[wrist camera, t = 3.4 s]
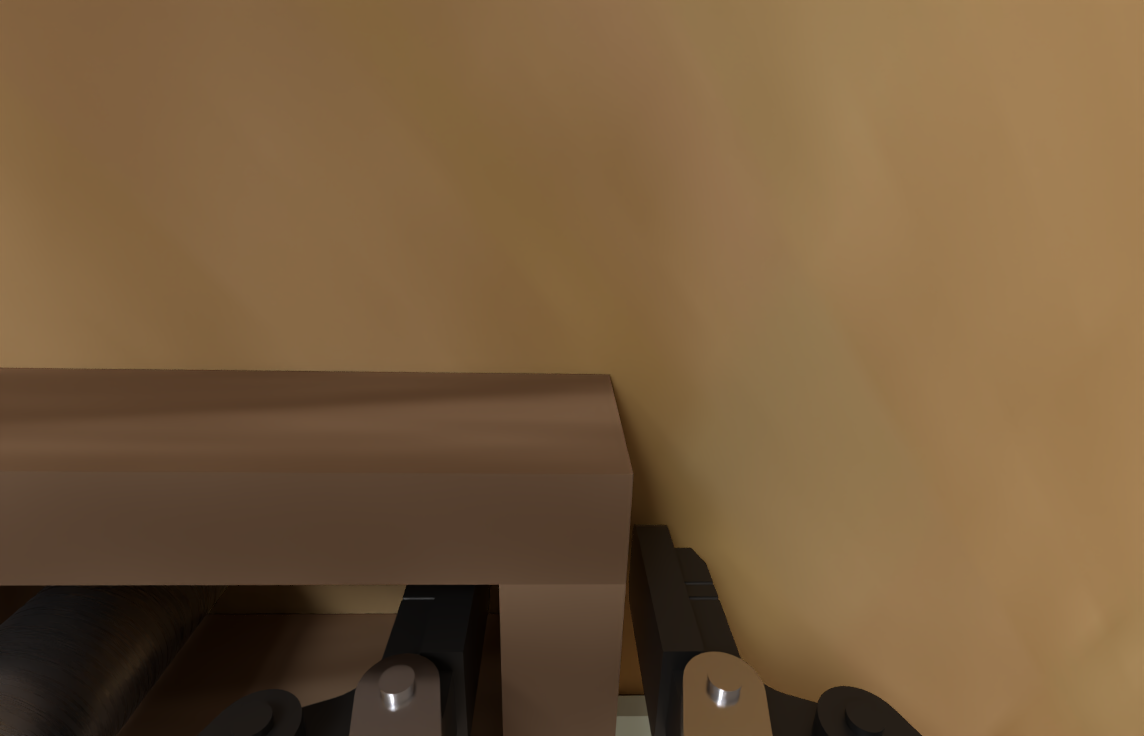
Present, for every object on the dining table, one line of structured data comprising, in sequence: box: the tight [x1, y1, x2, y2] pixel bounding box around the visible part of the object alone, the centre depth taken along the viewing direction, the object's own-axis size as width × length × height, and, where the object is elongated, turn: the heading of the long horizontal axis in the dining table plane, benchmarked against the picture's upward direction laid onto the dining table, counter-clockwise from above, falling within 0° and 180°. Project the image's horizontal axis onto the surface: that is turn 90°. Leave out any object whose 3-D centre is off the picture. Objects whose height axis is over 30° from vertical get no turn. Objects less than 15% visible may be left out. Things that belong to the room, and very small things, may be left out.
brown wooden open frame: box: [0, 368, 634, 736], centre depth 12 cm, size 8×14×4 cm, turn 89°
